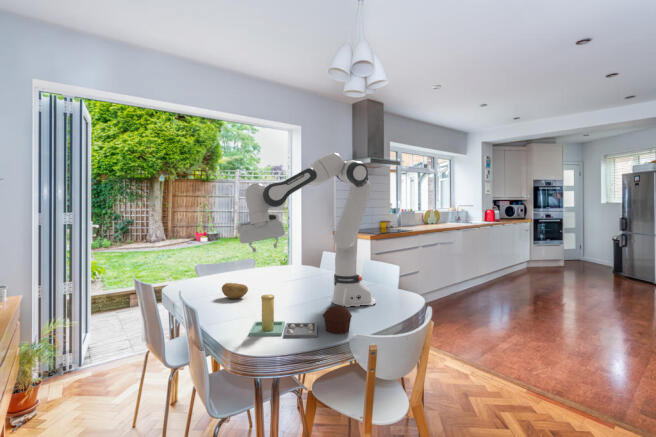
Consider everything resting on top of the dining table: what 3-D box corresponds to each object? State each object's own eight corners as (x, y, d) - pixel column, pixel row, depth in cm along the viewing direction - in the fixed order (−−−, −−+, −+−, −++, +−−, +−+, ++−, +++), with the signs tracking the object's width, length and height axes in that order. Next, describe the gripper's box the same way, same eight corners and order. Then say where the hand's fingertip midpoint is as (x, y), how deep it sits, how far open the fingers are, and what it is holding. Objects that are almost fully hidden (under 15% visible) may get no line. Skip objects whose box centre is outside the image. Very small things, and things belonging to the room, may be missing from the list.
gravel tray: (316, 327, 130) (316, 321, 130) (316, 340, 118) (316, 333, 118) (286, 328, 130) (286, 322, 129) (283, 340, 118) (283, 334, 118)
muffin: (327, 325, 133) (328, 301, 132) (354, 328, 129) (354, 303, 129) (318, 336, 121) (319, 310, 121) (347, 340, 118) (347, 313, 118)
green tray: (284, 326, 132) (284, 321, 131) (281, 338, 120) (281, 332, 119) (255, 326, 131) (255, 321, 131) (248, 338, 119) (248, 333, 119)
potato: (243, 301, 165) (243, 286, 165) (218, 300, 168) (218, 284, 168) (251, 296, 175) (251, 281, 174) (227, 295, 178) (227, 280, 177)
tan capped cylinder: (275, 327, 128) (275, 294, 127) (273, 331, 123) (273, 297, 122) (262, 327, 128) (262, 294, 127) (260, 331, 123) (260, 297, 122)
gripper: (235, 223, 141) (240, 254, 140) (281, 214, 144) (287, 245, 143) (237, 224, 147) (242, 254, 146) (281, 216, 150) (287, 245, 149)
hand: (265, 249), depth 145 cm, fingers open, 8 cm apart
